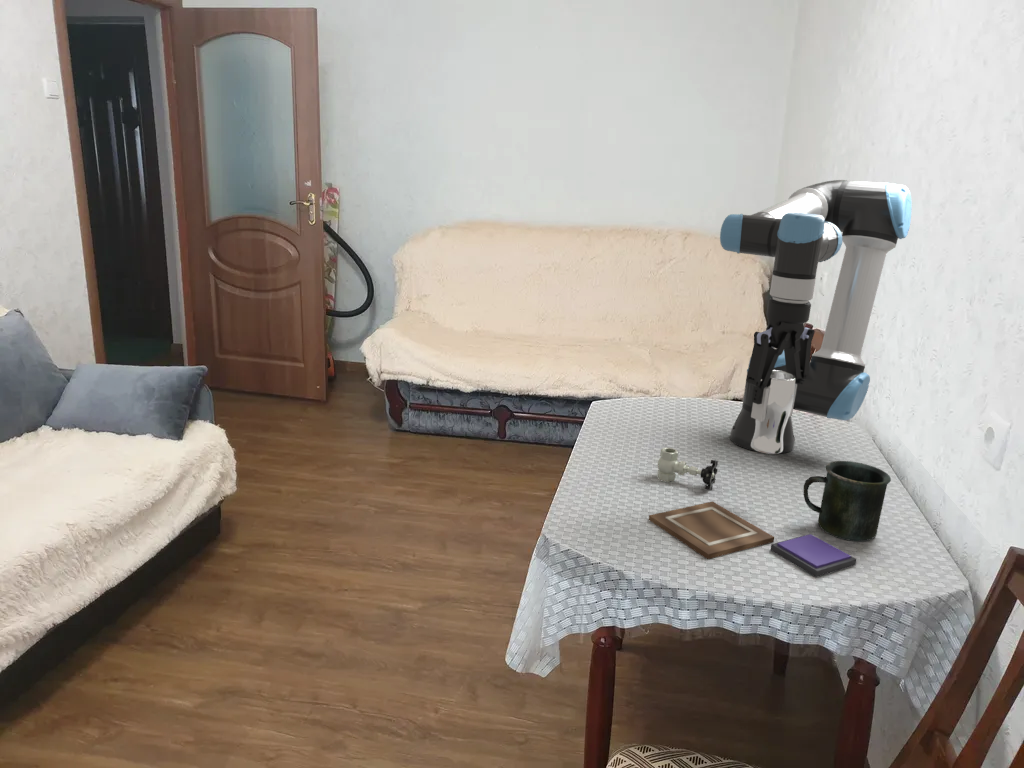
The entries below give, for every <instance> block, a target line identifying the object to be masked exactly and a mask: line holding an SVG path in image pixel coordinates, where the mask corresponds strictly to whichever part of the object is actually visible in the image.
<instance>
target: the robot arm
mask: <svg viewBox="0 0 1024 768" xmlns="http://www.w3.org/2000/svg"><path fill="white" fill-rule="evenodd" d="M911 219H912V195H911V191H910V190H909V188H908V187H907V186H906V185H904V184H897V183H890V182H878V181H876V182H875V181H861V180H859V181H857V180H856V181H855V180H847V179H846V180H845V179H834V180H826V181H822V182H819V183H814V184H812V185H807V186H805V187H802V188H800V189H797V190H796V191H794V192H793V193H792V194H791V195H789V197H788V199H785V200H784V201H781V202H779V203H776V204H774V205H771V206H770V207H767V208H765V209H762V210H760V211H757V212H756V213H753V214H749V215H748V214H743V213H740V214H739V213H738V214H737V213H734V214H733V213H732V214H729V215H727V216H725V218H724V220H723V222H722V225H721V228H720V234H719V241H720V245H721V247H722V249H724V250H725V251H727V252H733V253H736V254H745V255H746V254H747V255H755V256H761V257H771V258H774V262H773V269H772V277H771V283H770V291H769V295H770V296H771V297H770V298H769V299H768V300H767V301H768V302H767V307H766V314H765V315H766V318H767V319H768V323H767V327H766V328H765V330H763V331H755V332H754V333H753V347H752V353H751V356H750V358H749V362H748V368H747V369H746V378H745V384H744V385H745V386H744V392H743V399H742V407H741V410H740V412H739V414H738V416H737V418H736V419H735V422H734V423H733V426H732V427H731V430H730V434H729V438H730V441H731V442H732V443H734V444H735V445H737V446H739V447H741V448H744V449H746V450H750V451H754V452H757V453H760V452H759V451H756V450H754V449H753V448H752V447H751V442H752V439H753V436H754V433H755V426H756V419H757V420H759V421H761V422H762V421H764V420H765V414H766V407H767V401H768V394H769V388H767V387H766V386H767V384H768V381H769V379H770V376H771V374H772V371H773V370H778V371H784V372H788V373H791V374H793V375H795V376H796V385H795V395H794V401H793V406H792V409H791V412H790V415H789V418H788V421H787V423H786V426H785V429H784V433H783V451H782V452H781V453H780V454H786V453H789V452H792V451H793V450H794V448H795V443H796V437H795V434H794V428H793V421H792V420H793V419H792V417H793V413H794V410H796V411H799V412H803V413H808V414H813V415H816V416H821V417H823V418H827V419H833V420H839V421H850V420H851V419H853V418H854V417H855V416H856V415H857V413H858V412H859V410H860V408H861V407H862V404H863V402H864V401H865V398H866V395H867V393H868V391H869V387H870V386H869V385H870V382H871V376H870V375H869V373H867V372H865V368H866V364H865V363H864V361H863V358H861V354H862V351H863V347H864V342H865V339H866V335H867V330H868V327H869V323H870V320H871V315H872V311H873V307H874V304H875V300H876V296H877V291H878V287H879V284H880V281H881V280H880V279H881V276H882V273H883V268H884V264H885V260H886V257H887V254H888V253H889V252H890V251H892V250H893V249H895V248H896V247H897V243H898V239H899V240H903V239H905V238H906V237H908V233H909V231H910V226H911ZM842 244H844V246H845V251H844V254H843V259H842V263H841V266H840V270H839V275H838V279H837V282H836V286H835V289H834V295H833V298H832V303H831V306H830V311H829V315H828V319H827V323H826V327H825V330H824V334H823V338H822V342H821V346H820V348H819V350H817V351H815V352H814V353H811V351H812V342H813V338H814V336H815V330H814V329H813V328H809V327H806V326H805V324H806V323H807V322H809V320H810V315H811V307H812V303H811V302H810V301H811V300H813V297H814V292H815V286H816V285H815V284H816V279H817V278H816V276H817V272H818V265H819V263H823V262H826V261H828V260H830V259H832V258H833V257H834V256H836V255H837V254H838V253H839V251H840V250H841V248H842ZM761 379H762V381H761Z"/></svg>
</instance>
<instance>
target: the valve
mask: <svg viewBox="0 0 1024 768" xmlns="http://www.w3.org/2000/svg"><path fill="white" fill-rule="evenodd" d="M659 456H660V458H659V459H658V462H657V469H658V470H657V476H658V477H657V478H659V479H658V480H659V481H661V480H662V482H665V481H666V482H665V483H670V481H672V482H675V481H674V480H676V473H677V475H679V476H684V475H686V474H689V475H692V476H695V477H696V476H697V475H699V476H700V478H702V481H703V483H704V484H705V486H704V489H705V490H706V491H707V490H708V491H712V490H713V488H714V484H716V475H717V474H718V472H719V471H718V470H719V469H718V468H717V467H718V465H719V461H717V460H716V459H715V460H714V459H711V460H710V464H711V465H707V466H705V468H702V469H699V468H698V467H697V466H692V465H691V466H689V465H688V464H687V462H686V461H684V460H681V461H678V458H679V457H678V456H679V452H678V450H677V449H675V448H673V447H662V448H660V453H659Z"/></svg>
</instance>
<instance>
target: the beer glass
mask: <svg viewBox="0 0 1024 768" xmlns="http://www.w3.org/2000/svg"><path fill="white" fill-rule="evenodd" d="M761 381H762V379H761ZM795 385H796V376H795V375H793V374H791V373H788V372H784V371H778V370H773V371H772V374H771V376H770V379H769V381H768V384H767V386H766V387H767V388H769V394H768V401H767V407H766V414H765V420H764V421H762V422H761V421H759V420H757V419H756V426H755V433H754V436H753V439H752V442H751V447H752V448H753V449H754V450H756V451H755V452H757V451H759V452H758V453H762V454H767V455H768V454H769V455H777V454H778V455H779V454H782V453H781V452H782V451H783V433H784V429H785V426H786V423H787V421H788V418H789V415H790V412H791V409H792V406H793V401H794V395H795Z"/></svg>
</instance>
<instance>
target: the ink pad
mask: <svg viewBox="0 0 1024 768" xmlns="http://www.w3.org/2000/svg"><path fill="white" fill-rule="evenodd" d="M769 551H771V552H773V553H774V554H776V555H777V556H779V557H781V558H782V559H784V560H786V561H788V562H790V563H792V564H793V565H795V566H796V567H798V568H799V569H801V570H803V571H804V572H806V573H808V574H809V575H811V576H813V577H815V578H818V577H822V576H826V575H829V574H831V573H834V572H838V571H842V570H844V569H848V568H851V567H854V566H856V565H857V560H858V559H857V558H856V557H853V556H852V555H850V554H848V553H846V552H845V551H843V550H842V549H839V548H838V547H835V546H833V545H832V544H830V543H828V542H826V541H824V540H822V539H821V538H819V537H817V536H815V535H813V534H812V533H808V534H805V535H801V536H797V537H793V538H789V539H786V540H782V541H777V542H773V543H770V550H769Z"/></svg>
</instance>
